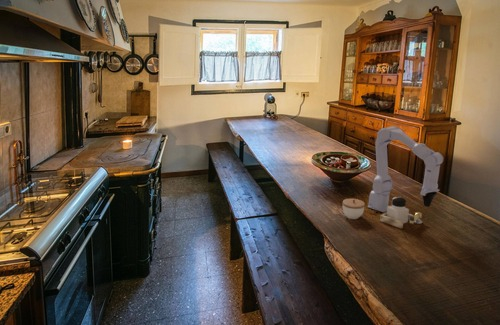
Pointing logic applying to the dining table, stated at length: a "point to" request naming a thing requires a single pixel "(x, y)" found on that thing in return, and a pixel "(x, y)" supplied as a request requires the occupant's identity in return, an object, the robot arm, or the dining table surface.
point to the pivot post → (418, 221)
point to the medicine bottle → (398, 210)
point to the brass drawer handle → (415, 217)
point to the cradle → (393, 220)
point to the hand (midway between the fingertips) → (426, 205)
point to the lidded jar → (353, 208)
